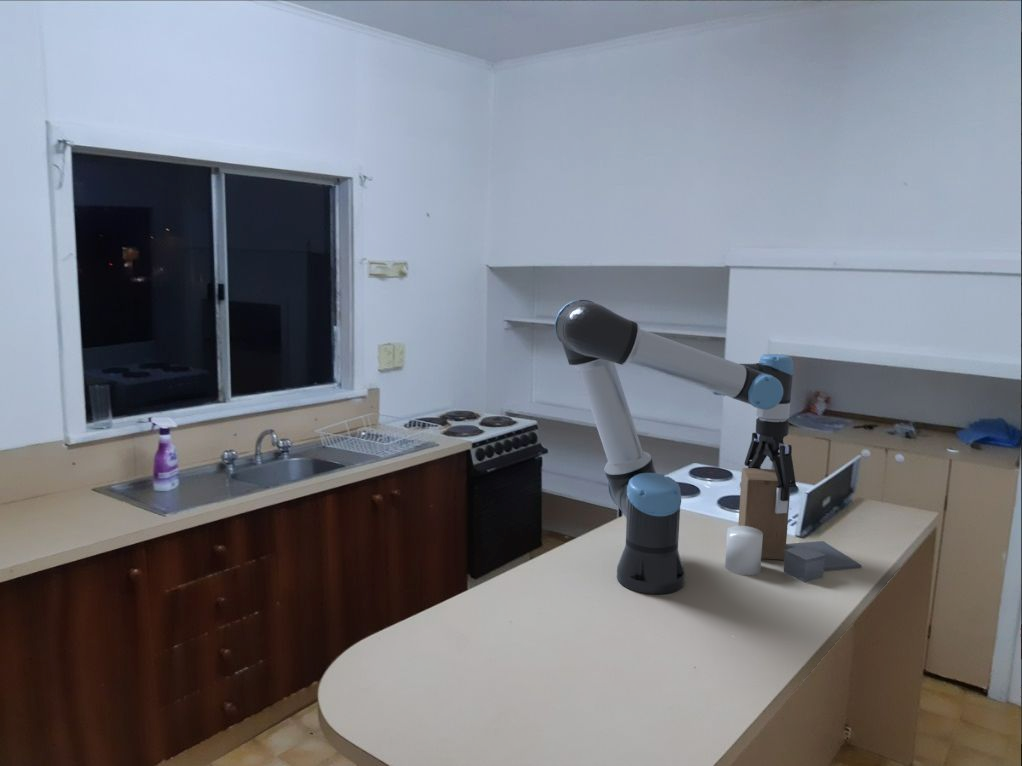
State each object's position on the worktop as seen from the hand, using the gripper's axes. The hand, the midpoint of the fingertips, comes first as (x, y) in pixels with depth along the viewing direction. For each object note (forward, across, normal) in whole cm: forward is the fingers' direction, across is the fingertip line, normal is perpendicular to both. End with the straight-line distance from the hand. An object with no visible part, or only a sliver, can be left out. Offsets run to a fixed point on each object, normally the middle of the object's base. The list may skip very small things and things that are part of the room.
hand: (766, 504), depth 182 cm
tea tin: (+13, -14, -2) cm, 19 cm away
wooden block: (+13, 0, +1) cm, 13 cm away
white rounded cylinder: (+12, -8, +10) cm, 18 cm away
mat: (+12, -5, -12) cm, 18 cm away
